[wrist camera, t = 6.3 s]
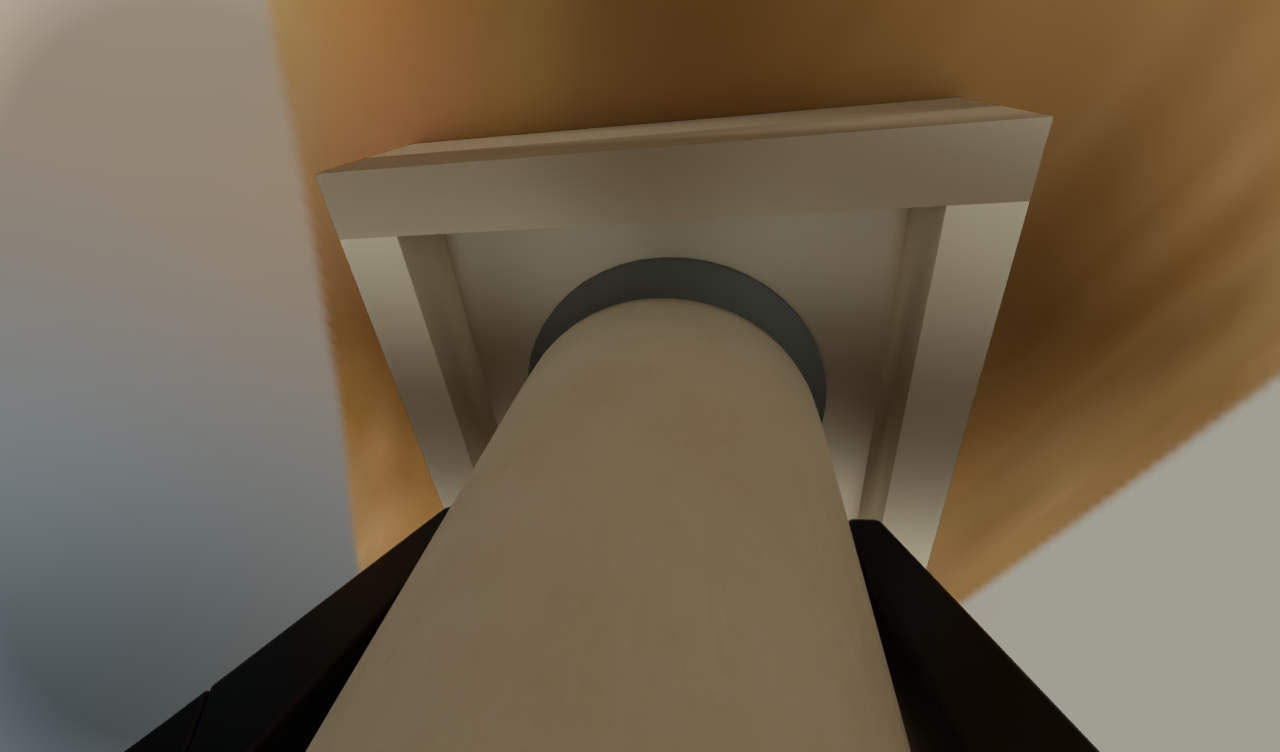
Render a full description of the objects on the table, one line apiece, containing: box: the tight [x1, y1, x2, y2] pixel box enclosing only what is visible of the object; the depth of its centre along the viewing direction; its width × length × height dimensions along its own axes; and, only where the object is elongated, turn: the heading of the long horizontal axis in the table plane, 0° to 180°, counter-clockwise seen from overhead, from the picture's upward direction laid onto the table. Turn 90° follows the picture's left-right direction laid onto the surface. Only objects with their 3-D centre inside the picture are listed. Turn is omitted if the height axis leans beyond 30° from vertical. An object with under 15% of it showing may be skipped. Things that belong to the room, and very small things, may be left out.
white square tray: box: [314, 97, 1054, 569], centre depth 11 cm, size 10×10×3 cm
